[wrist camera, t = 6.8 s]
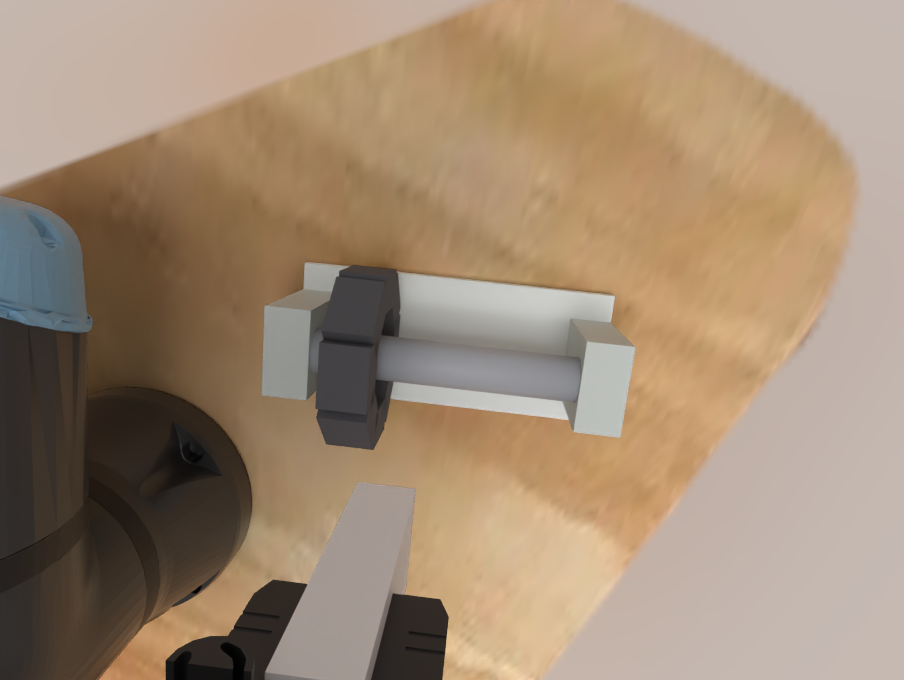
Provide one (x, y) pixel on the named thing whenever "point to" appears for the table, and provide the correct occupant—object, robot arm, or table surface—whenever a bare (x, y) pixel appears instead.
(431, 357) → the pipe rig
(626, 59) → the table surface
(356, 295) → the o-ring
